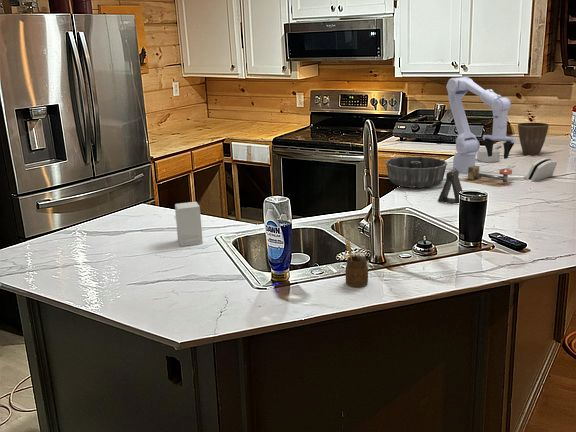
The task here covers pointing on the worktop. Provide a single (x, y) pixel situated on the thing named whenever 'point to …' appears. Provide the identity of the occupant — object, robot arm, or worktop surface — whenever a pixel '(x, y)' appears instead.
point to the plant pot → (532, 137)
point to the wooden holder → (473, 173)
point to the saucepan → (483, 155)
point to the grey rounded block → (541, 169)
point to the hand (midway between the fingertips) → (497, 157)
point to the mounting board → (488, 182)
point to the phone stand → (455, 184)
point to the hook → (501, 171)
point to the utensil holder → (356, 269)
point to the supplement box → (188, 223)
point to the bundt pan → (416, 171)
